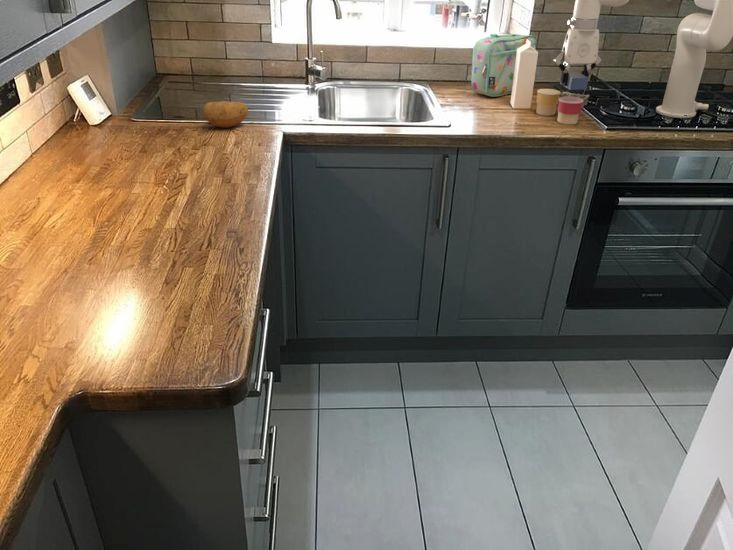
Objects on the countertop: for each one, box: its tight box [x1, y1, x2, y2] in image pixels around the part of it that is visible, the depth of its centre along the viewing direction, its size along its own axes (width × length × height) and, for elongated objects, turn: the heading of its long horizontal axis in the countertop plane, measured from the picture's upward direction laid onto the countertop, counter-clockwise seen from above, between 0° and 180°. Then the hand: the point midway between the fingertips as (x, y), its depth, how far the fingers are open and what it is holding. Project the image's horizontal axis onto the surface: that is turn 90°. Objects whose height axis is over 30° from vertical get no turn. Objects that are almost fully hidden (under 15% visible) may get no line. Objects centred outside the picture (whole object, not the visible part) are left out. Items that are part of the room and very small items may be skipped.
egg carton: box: [556, 91, 590, 109], centre depth 216 cm, size 11×8×4 cm
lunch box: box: [470, 33, 537, 98], centre depth 225 cm, size 27×10×21 cm, turn 127°
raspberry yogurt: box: [556, 96, 583, 125], centre depth 198 cm, size 8×8×7 cm
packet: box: [559, 71, 590, 91], centre depth 193 cm, size 6×8×4 cm
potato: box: [202, 100, 249, 129], centre depth 192 cm, size 10×14×8 cm
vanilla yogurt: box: [535, 88, 561, 117], centre depth 207 cm, size 8×8×7 cm
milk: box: [509, 39, 539, 109], centre depth 210 cm, size 6×6×22 cm
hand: (573, 84), depth 194 cm, fingers closed on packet, 5 cm apart
